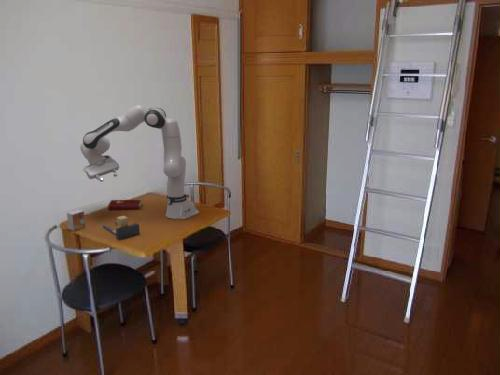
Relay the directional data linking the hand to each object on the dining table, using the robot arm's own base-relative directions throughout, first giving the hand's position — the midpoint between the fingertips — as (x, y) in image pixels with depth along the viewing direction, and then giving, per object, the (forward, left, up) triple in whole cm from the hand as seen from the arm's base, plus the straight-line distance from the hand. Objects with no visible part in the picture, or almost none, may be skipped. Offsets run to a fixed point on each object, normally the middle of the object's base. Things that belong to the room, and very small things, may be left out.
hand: (109, 178), depth 260 cm
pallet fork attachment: (+5, +19, -28) cm, 34 cm away
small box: (+22, -1, -28) cm, 35 cm away
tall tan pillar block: (+5, +24, -28) cm, 37 cm away
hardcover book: (-18, -17, -28) cm, 38 cm away
